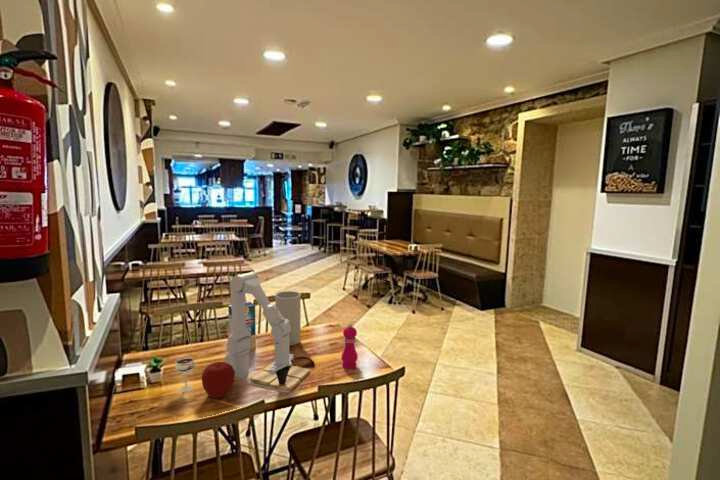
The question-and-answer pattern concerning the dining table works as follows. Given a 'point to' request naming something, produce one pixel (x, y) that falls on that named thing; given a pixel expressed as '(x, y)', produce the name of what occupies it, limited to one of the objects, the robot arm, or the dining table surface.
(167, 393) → the dining table surface
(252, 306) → the beverage box
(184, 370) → the wineglass
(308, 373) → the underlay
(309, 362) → the brown shoe
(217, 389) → the apple
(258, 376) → the plank
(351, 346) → the pepper mill
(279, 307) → the cylinder vase
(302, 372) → the laid row
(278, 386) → the plank
